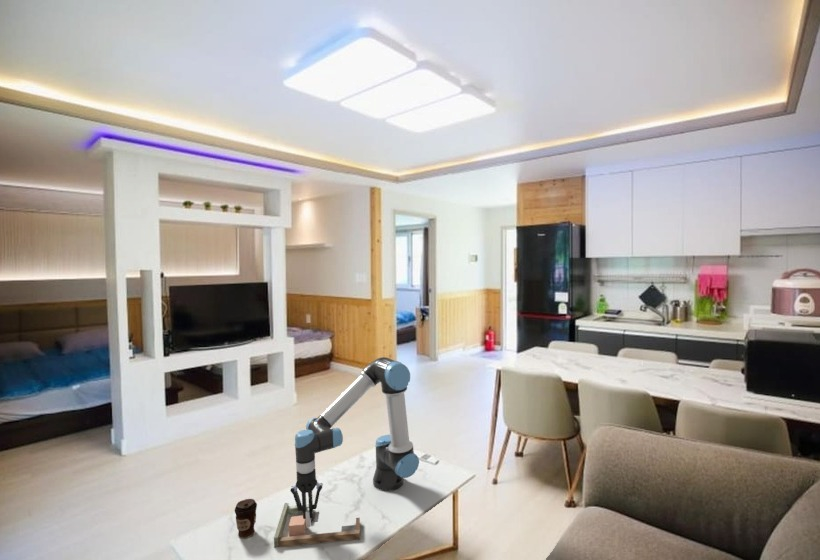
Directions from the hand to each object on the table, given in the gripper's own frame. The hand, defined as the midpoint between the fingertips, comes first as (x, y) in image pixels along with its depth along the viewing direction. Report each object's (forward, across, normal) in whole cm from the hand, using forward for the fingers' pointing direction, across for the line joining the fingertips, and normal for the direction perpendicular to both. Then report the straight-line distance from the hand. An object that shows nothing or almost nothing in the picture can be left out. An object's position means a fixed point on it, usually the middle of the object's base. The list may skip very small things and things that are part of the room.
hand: (308, 525), depth 168 cm
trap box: (+3, -4, -4) cm, 6 cm away
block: (+3, +4, 0) cm, 5 cm away
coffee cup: (+3, +25, -2) cm, 25 cm away
